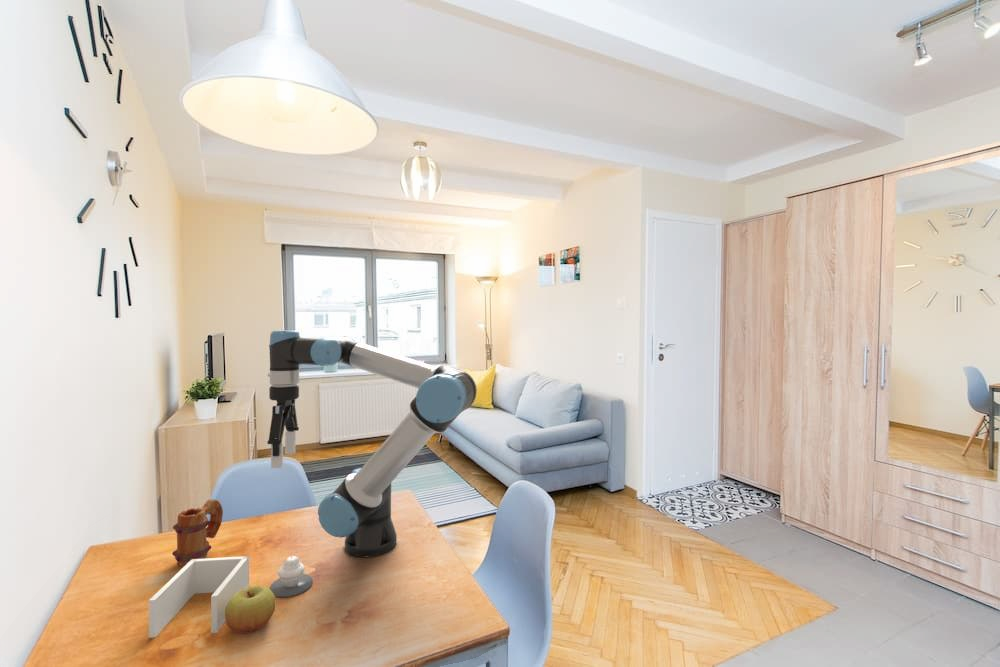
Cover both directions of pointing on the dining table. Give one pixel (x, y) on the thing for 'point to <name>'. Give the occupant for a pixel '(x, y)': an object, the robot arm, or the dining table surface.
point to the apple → (250, 609)
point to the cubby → (199, 589)
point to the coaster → (283, 591)
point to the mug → (196, 531)
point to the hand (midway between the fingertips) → (283, 460)
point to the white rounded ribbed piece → (291, 571)
